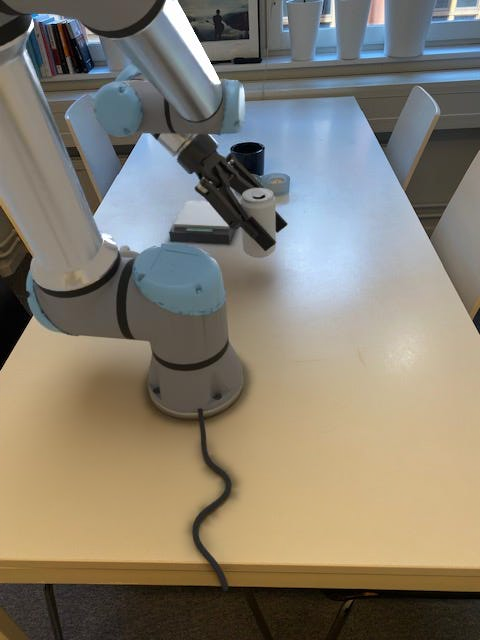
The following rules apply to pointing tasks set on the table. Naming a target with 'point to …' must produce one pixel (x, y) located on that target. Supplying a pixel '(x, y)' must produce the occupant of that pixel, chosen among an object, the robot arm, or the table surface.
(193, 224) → the scale
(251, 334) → the table surface
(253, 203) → the beverage can
